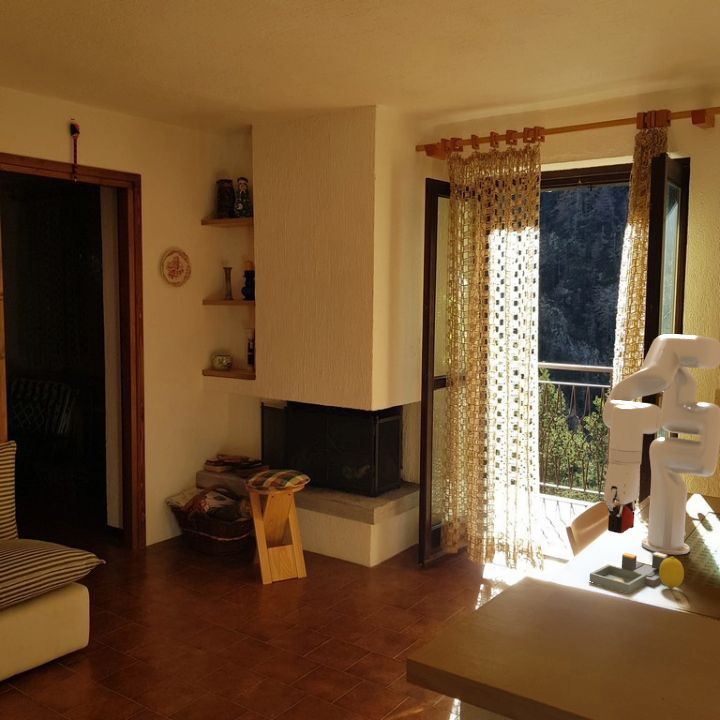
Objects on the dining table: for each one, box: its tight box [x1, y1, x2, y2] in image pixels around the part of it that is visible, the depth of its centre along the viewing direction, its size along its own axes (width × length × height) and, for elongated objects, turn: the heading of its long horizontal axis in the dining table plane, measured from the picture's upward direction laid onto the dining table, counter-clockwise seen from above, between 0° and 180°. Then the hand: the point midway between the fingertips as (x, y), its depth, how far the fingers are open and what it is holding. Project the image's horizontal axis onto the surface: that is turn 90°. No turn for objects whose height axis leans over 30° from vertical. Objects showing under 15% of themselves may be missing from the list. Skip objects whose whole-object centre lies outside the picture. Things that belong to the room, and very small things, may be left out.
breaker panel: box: [634, 560, 662, 587], centre depth 188 cm, size 11×9×2 cm
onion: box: [614, 505, 635, 534], centre depth 182 cm, size 6×6×8 cm
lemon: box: [659, 556, 685, 590], centre depth 180 cm, size 6×6×8 cm
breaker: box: [651, 552, 668, 569], centre depth 188 cm, size 2×3×4 cm
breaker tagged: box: [621, 552, 638, 571], centre depth 187 cm, size 2×3×4 cm
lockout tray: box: [588, 563, 646, 595], centre depth 183 cm, size 10×10×2 cm
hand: (620, 528), depth 182 cm, fingers closed on onion, 5 cm apart
